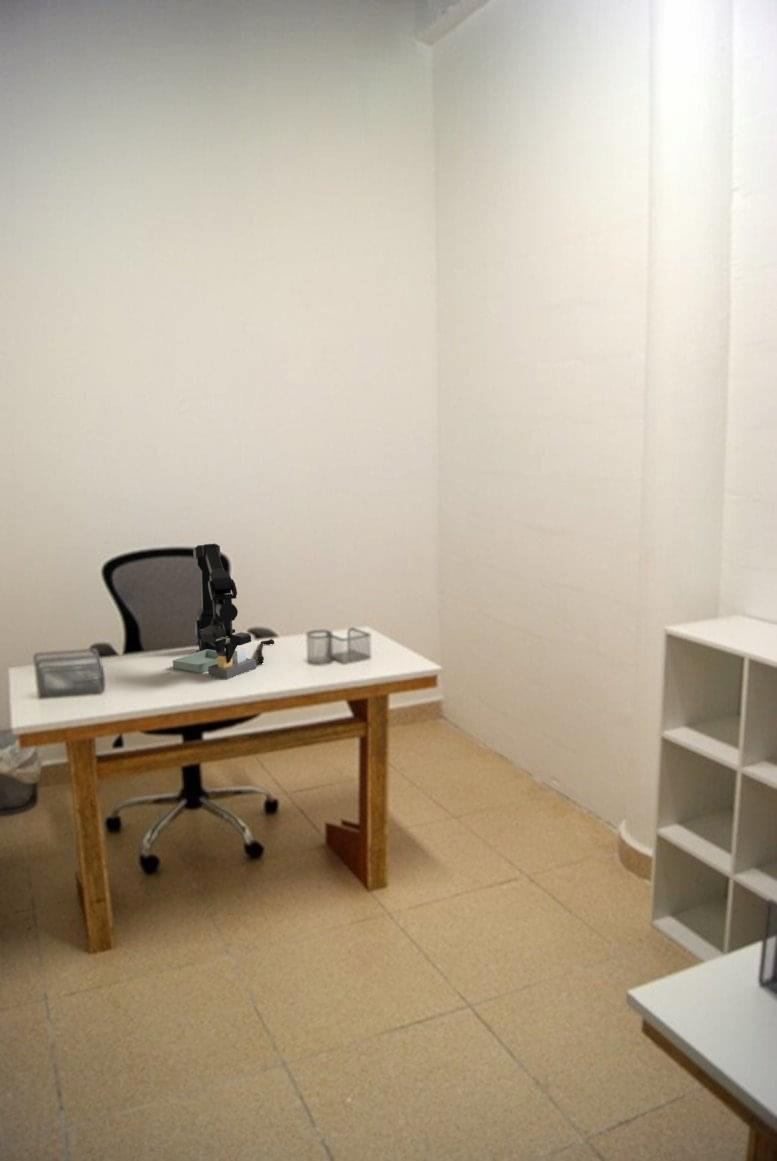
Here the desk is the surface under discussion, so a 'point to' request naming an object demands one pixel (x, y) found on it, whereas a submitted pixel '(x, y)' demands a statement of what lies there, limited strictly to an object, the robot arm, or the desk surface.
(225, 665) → the tan and brown block
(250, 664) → the fuse block
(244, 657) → the white rectangular block
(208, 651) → the parts tray
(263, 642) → the wrench
